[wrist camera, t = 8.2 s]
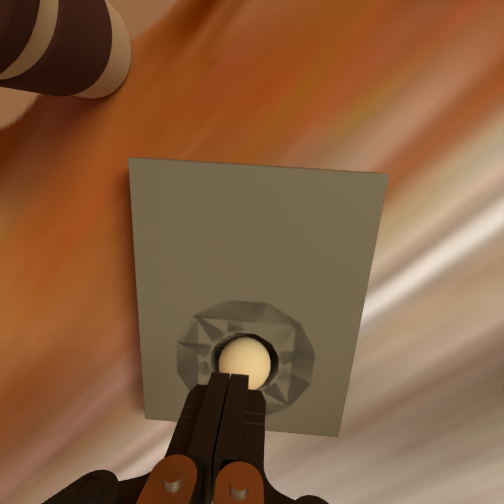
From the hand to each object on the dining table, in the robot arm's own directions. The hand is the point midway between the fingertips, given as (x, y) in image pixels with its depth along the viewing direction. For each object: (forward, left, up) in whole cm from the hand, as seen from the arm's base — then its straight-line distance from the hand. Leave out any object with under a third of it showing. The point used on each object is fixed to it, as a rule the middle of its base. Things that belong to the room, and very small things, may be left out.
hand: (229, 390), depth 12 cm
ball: (0, +10, -15) cm, 18 cm away
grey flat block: (0, +5, -17) cm, 18 cm away
